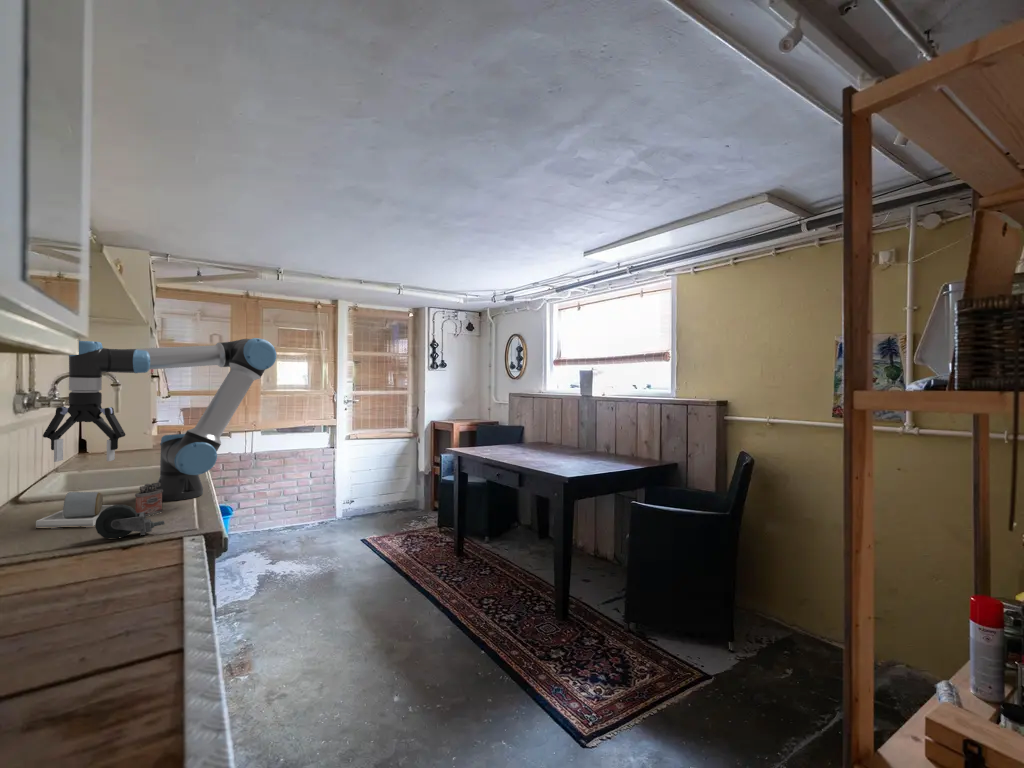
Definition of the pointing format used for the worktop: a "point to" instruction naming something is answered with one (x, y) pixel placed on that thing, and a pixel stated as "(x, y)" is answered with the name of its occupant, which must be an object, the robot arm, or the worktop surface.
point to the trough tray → (68, 520)
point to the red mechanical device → (149, 499)
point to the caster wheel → (123, 522)
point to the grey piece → (82, 504)
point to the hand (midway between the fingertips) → (84, 460)
